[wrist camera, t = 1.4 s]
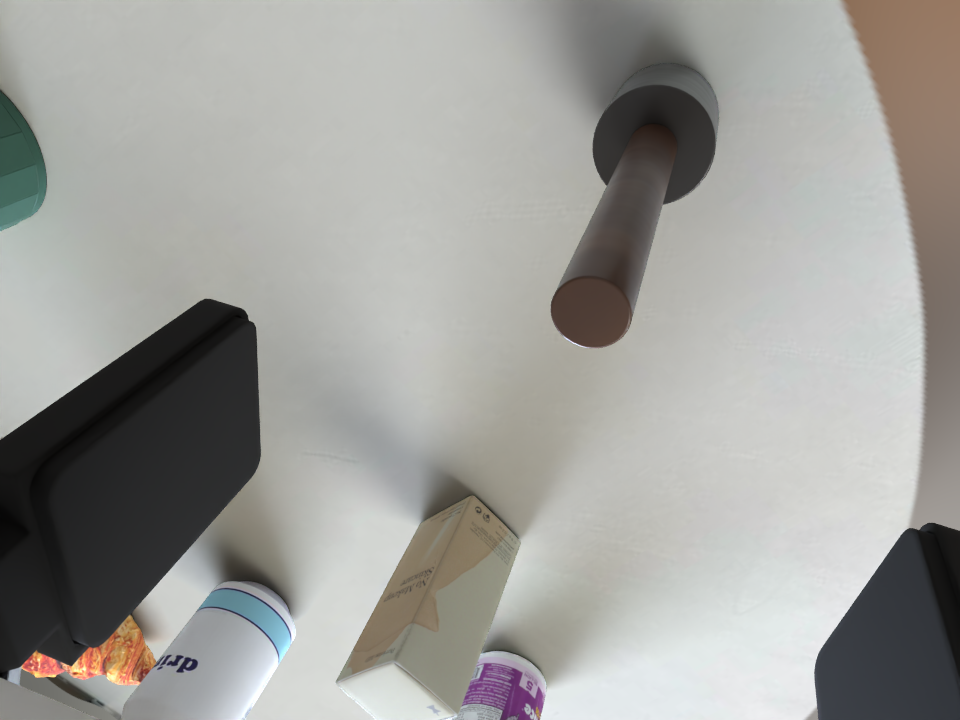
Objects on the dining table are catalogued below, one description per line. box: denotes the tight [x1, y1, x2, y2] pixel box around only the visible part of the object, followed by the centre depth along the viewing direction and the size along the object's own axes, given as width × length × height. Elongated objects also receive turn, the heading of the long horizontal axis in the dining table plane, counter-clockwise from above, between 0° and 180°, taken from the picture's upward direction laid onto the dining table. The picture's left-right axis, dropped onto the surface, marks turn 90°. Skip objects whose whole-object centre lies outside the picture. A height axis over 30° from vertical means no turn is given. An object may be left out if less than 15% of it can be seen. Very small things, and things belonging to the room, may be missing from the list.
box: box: [336, 496, 521, 720], centre depth 37 cm, size 5×4×11 cm
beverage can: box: [121, 581, 296, 720], centre depth 48 cm, size 7×7×12 cm
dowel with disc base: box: [551, 63, 719, 348], centre depth 20 cm, size 4×4×16 cm
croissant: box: [21, 615, 157, 685], centre depth 58 cm, size 21×10×8 cm, turn 58°
